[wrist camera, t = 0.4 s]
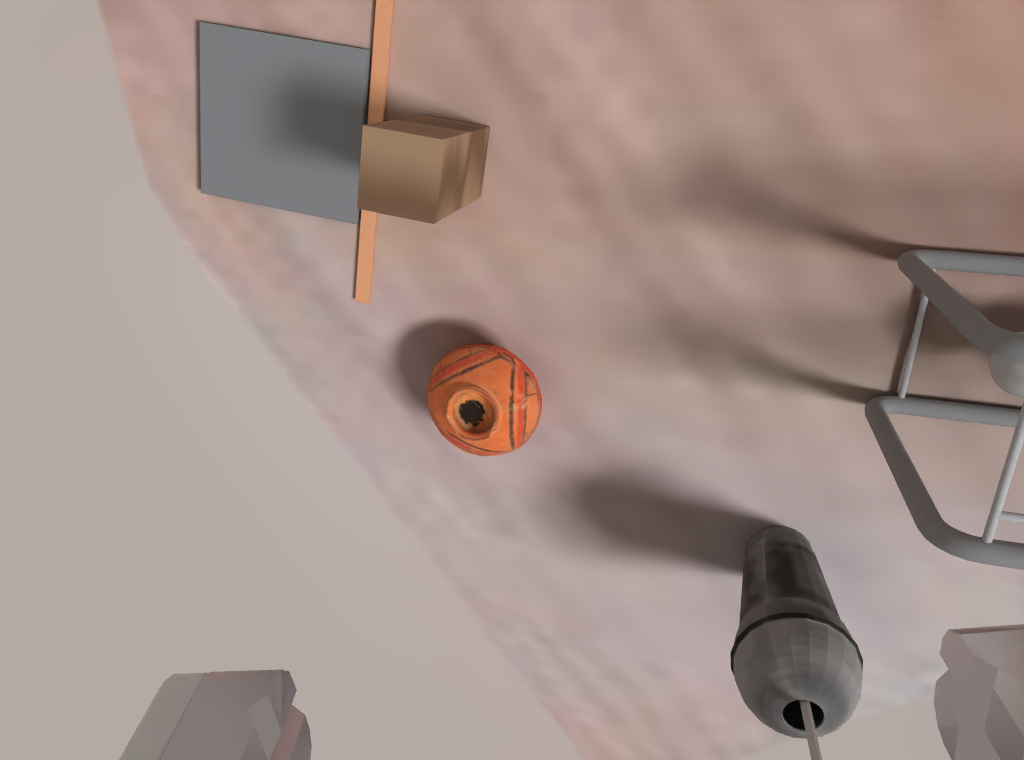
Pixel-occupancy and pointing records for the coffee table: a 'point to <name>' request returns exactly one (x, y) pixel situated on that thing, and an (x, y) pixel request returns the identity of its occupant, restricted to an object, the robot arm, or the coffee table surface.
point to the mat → (282, 120)
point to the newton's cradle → (1014, 367)
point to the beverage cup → (793, 642)
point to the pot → (484, 399)
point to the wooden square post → (421, 166)
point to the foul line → (374, 116)
